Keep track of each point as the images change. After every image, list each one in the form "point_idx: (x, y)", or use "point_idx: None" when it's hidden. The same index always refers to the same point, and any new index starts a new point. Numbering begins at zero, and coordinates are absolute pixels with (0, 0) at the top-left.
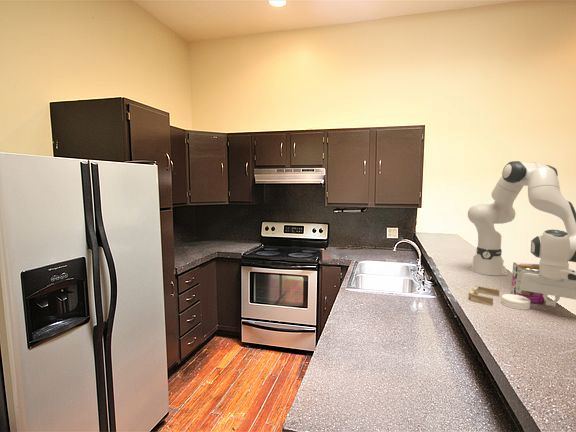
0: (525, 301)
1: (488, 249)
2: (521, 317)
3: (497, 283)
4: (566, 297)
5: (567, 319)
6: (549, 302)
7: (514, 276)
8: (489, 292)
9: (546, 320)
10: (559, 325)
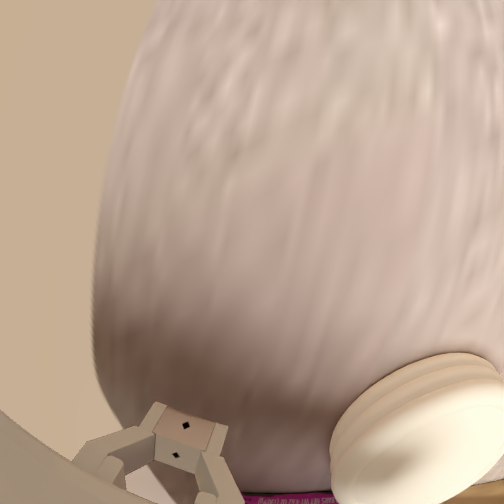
0: (407, 430)
1: None
2: (473, 141)
3: None
4: (11, 423)
5: (113, 272)
6: (191, 440)
7: None
8: (477, 496)
9: (282, 150)
10: (199, 74)
